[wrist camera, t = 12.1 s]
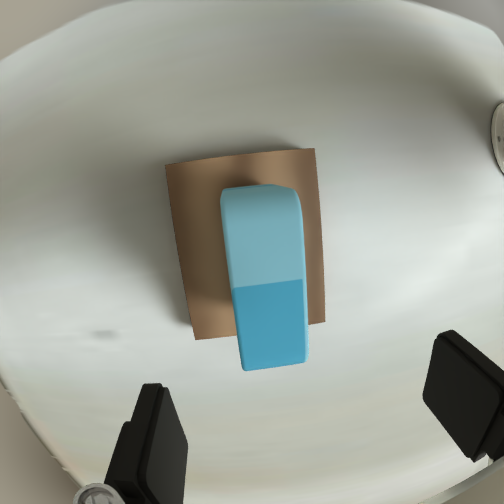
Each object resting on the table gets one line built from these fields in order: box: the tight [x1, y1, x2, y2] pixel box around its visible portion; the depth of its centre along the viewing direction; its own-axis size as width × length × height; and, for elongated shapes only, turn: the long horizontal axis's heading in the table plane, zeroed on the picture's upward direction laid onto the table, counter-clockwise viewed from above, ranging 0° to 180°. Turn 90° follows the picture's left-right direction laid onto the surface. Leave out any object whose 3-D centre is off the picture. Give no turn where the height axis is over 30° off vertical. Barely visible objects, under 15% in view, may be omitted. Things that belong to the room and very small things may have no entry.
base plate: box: [165, 148, 325, 340], centre depth 31 cm, size 14×18×3 cm
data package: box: [220, 184, 309, 371], centre depth 24 cm, size 12×4×12 cm, turn 6°
